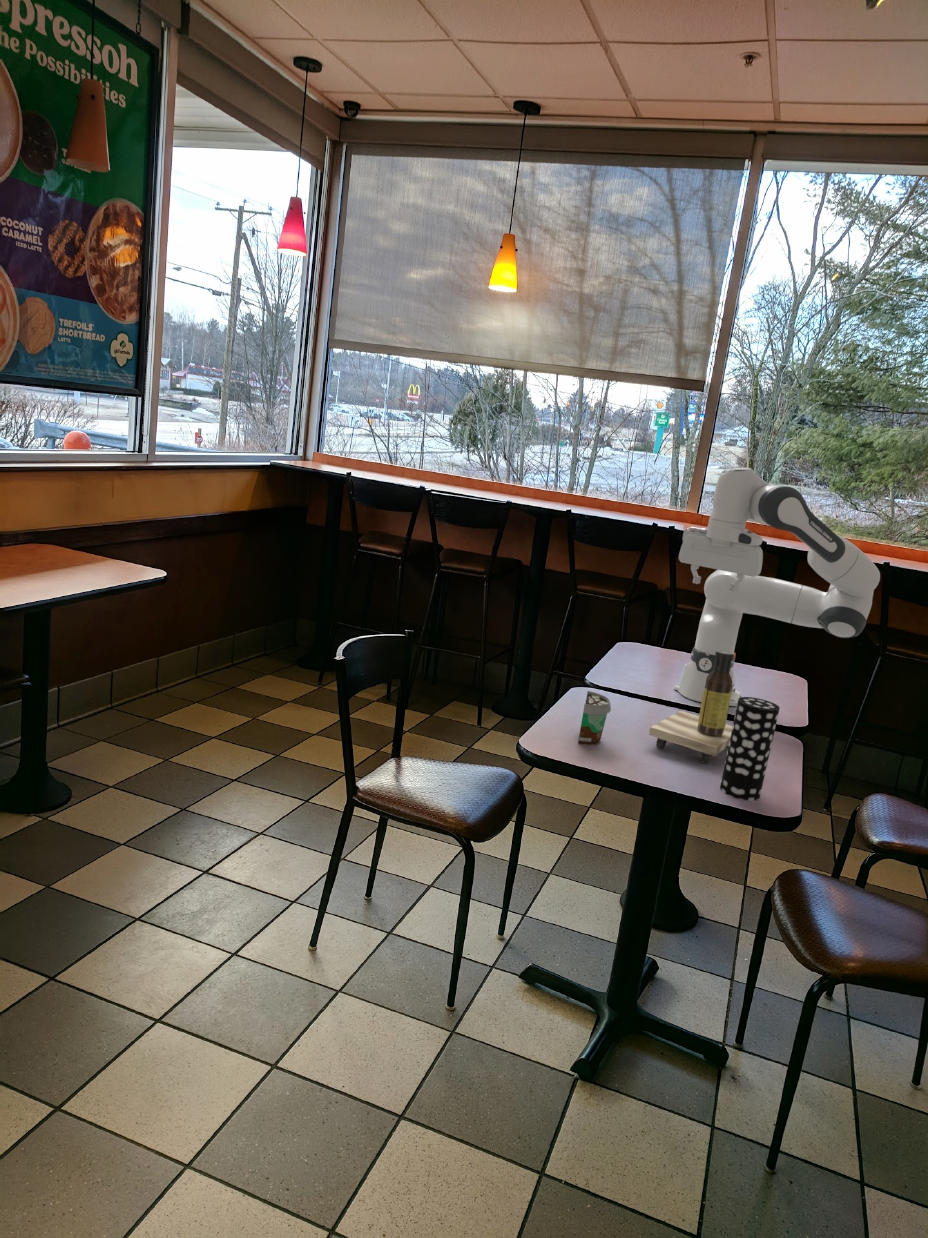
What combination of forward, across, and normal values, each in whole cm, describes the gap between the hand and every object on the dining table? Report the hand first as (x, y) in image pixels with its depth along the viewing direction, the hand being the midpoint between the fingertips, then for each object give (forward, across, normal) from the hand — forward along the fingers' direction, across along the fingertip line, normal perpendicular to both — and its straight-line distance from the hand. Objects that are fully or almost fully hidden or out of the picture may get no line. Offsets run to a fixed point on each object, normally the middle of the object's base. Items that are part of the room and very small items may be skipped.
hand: (714, 587), depth 217 cm
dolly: (+37, +7, -15) cm, 41 cm away
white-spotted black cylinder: (+37, +24, -34) cm, 56 cm away
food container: (+37, -12, -32) cm, 51 cm away
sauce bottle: (+32, +10, -16) cm, 37 cm away
